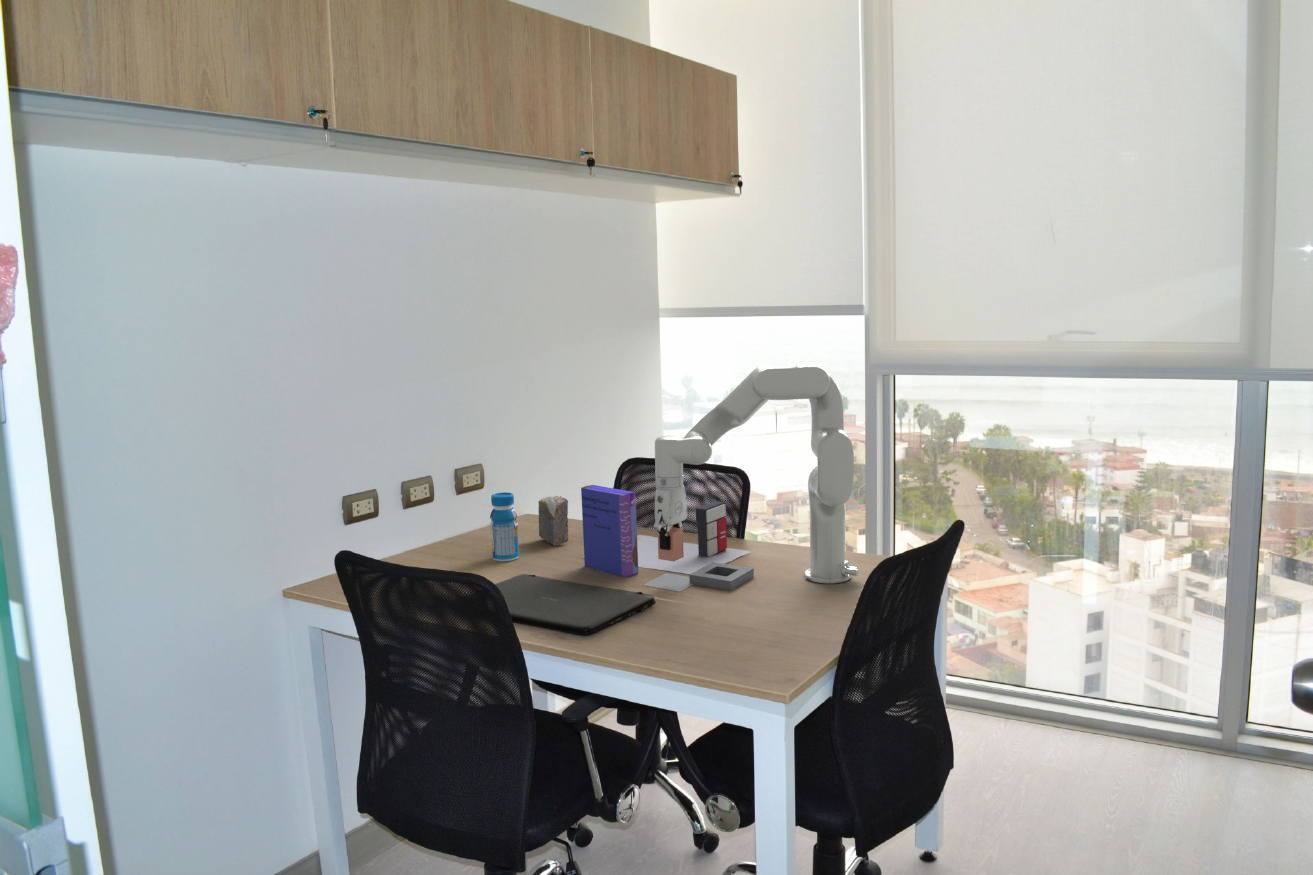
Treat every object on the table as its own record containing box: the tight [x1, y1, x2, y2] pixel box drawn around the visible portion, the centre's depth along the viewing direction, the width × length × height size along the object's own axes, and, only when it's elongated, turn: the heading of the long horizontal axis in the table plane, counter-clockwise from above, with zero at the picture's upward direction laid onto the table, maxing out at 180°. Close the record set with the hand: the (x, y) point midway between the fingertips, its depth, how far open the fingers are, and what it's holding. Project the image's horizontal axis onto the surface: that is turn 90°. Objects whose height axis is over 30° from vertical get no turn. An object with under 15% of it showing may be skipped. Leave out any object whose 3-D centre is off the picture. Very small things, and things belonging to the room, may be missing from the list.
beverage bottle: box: [489, 492, 520, 562], centre depth 297 cm, size 8×8×20 cm
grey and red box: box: [695, 500, 728, 558], centre depth 296 cm, size 11×4×15 cm, turn 143°
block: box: [657, 526, 685, 562], centre depth 267 cm, size 5×5×8 cm
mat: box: [642, 572, 695, 593], centre depth 269 cm, size 12×12×1 cm
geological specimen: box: [538, 495, 569, 546], centre depth 314 cm, size 11×6×15 cm, turn 33°
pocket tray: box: [688, 561, 755, 591], centre depth 269 cm, size 13×13×3 cm
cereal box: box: [580, 484, 639, 578], centre depth 281 cm, size 17×5×24 cm, turn 47°
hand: (670, 546), depth 267 cm, fingers closed on block, 5 cm apart
